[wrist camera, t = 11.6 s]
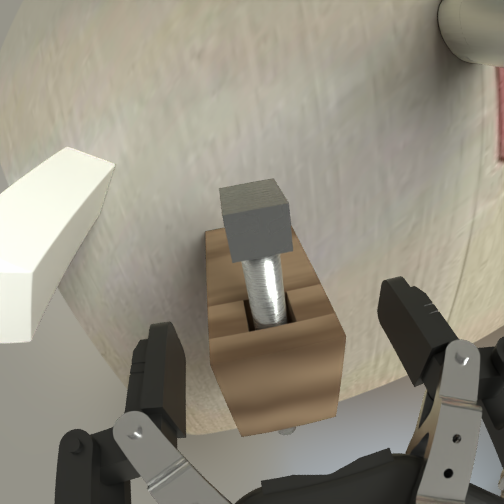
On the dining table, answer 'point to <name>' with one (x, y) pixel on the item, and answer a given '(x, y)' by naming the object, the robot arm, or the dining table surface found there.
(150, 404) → the robot arm
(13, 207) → the milk
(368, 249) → the dining table surface
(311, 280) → the bearing block
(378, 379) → the dining table surface
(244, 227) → the shaft
